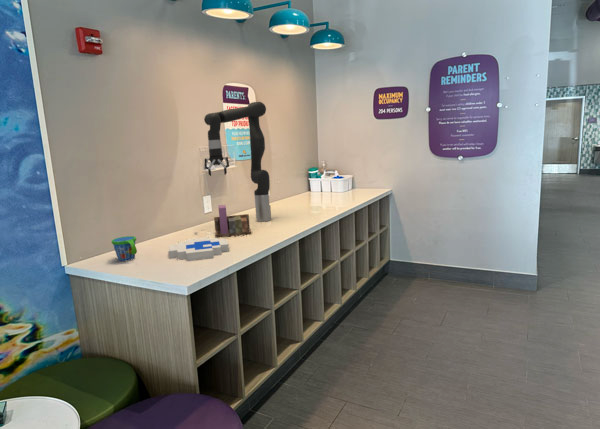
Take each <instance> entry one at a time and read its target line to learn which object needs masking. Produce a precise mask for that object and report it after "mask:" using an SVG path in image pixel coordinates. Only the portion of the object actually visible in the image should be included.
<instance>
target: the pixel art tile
mask: <svg viewBox="0 0 600 429" xmlns="http://www.w3.org/2000/svg"><path fill="white" fill-rule="evenodd" d="M228 242H229V241H228V240H227V238H219V237H218V238H216V237H213V238H212V237H209V236H208V237H207V236H204V237H195V238H189V239H188V238H187V239H185V241H178V242H177V243H175V244H169V245H168V258H170V259H177V260H178V259H180V260H186V262H189V261H190V262H191V261H199V260H206V258H207V259H214V256H220V255H222V253H226V252H230V246H229V243H228ZM176 257H178V258H176Z"/></svg>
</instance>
